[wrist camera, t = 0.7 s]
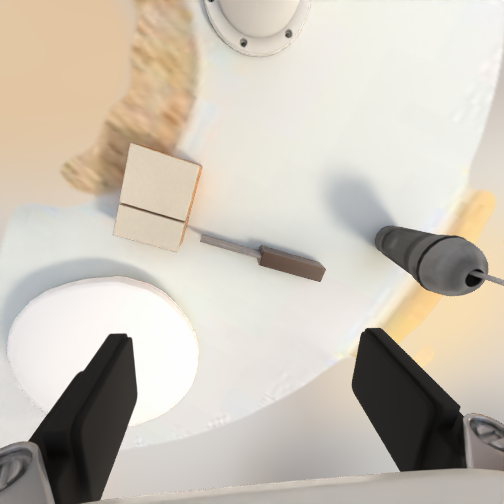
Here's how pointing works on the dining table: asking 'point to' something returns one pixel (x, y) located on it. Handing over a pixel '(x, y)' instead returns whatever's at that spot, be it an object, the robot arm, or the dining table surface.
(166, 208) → the cake
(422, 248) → the beverage cup
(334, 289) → the dining table surface
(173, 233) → the cake slice
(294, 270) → the knife
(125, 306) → the white round disc
